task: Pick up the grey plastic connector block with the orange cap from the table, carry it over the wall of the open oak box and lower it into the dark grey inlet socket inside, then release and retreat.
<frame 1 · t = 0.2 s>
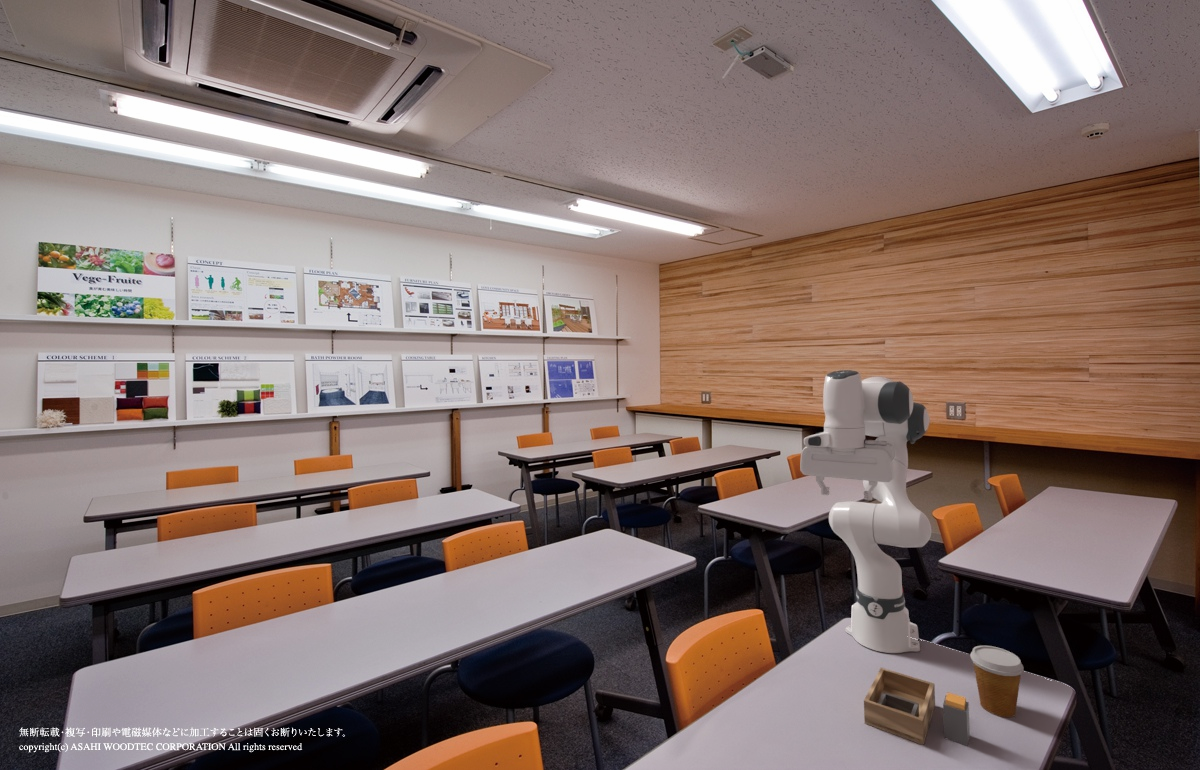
hand: (846, 497, 122), 47 cm above the table, fingers open, 8 cm apart
connector: (956, 736, 107), on the table
disposable coffee cup: (997, 709, 116), on the table
box: (900, 714, 115), on the table
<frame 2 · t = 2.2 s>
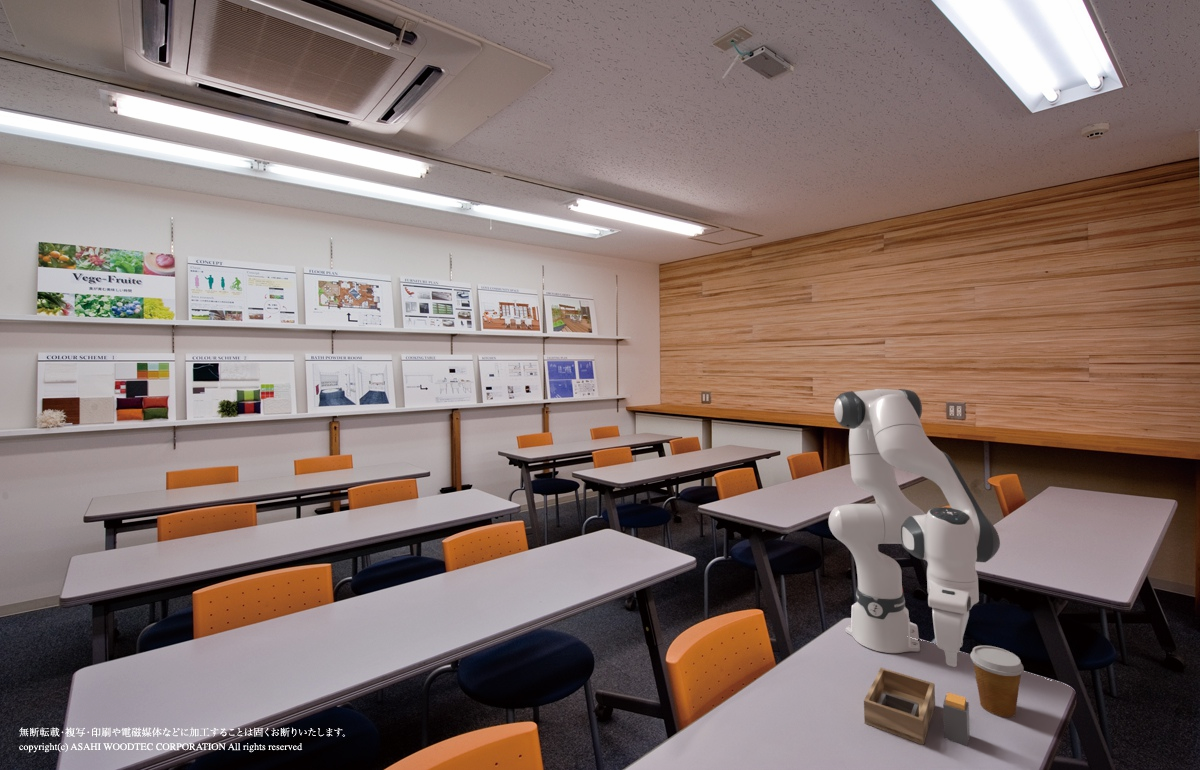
hand: (954, 654, 107), 17 cm above the table, fingers open, 8 cm apart
nothing on the table moved.
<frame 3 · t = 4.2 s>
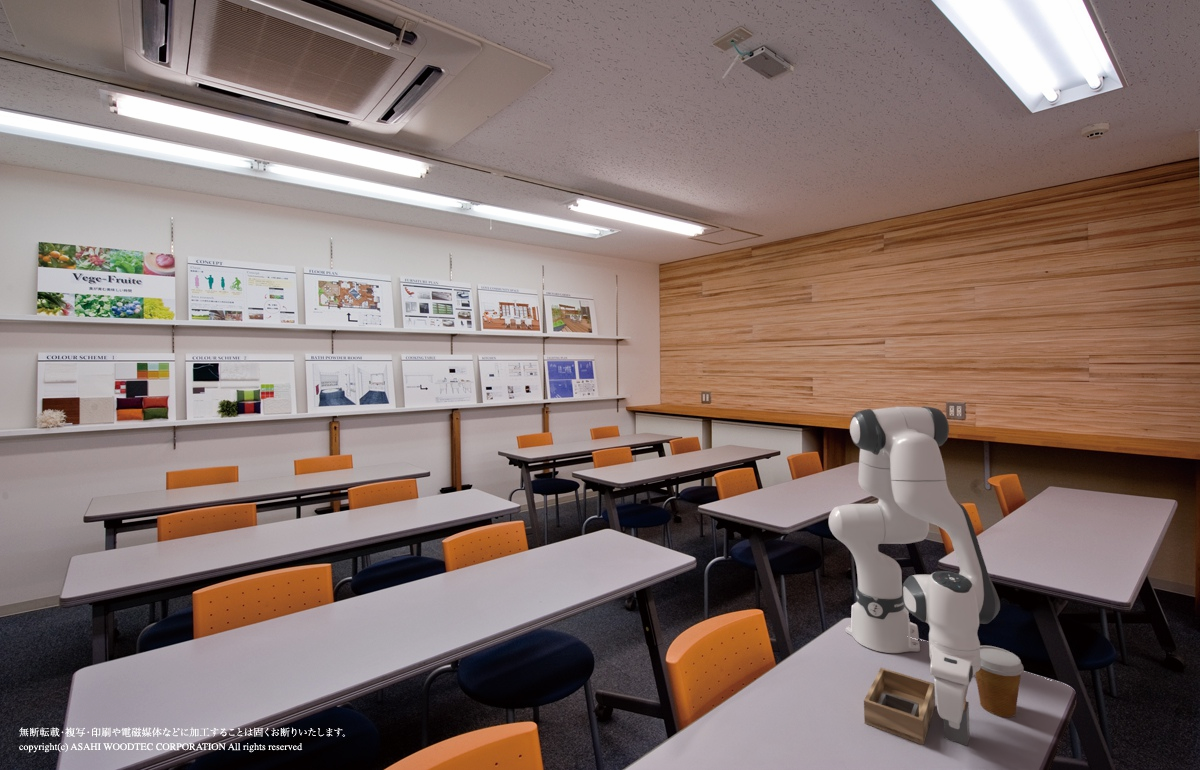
hand: (956, 719, 107), 4 cm above the table, fingers closed on connector, 4 cm apart
connector: (956, 736, 107), on the table, touching gripper
everything else where it was.
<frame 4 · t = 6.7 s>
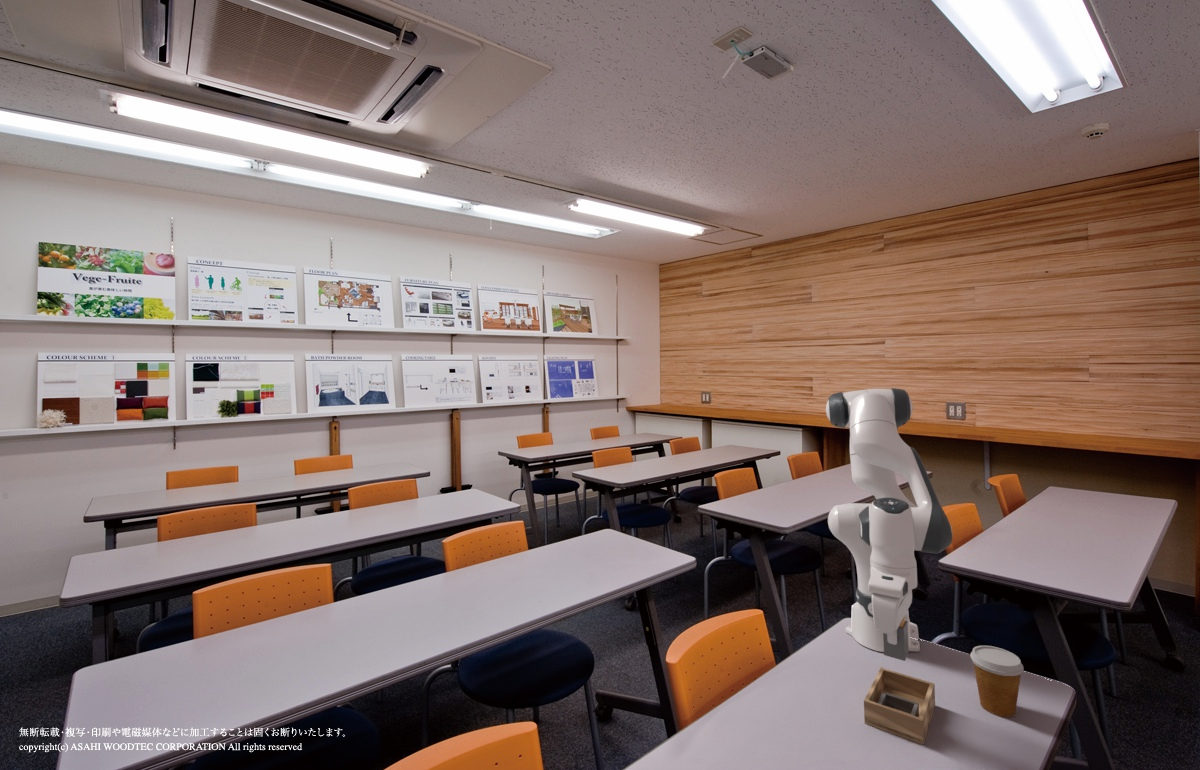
hand: (895, 637, 112), 19 cm above the table, fingers closed on connector, 4 cm apart
connector: (896, 654, 112), point 15 cm above the table, touching gripper
everything else where it was.
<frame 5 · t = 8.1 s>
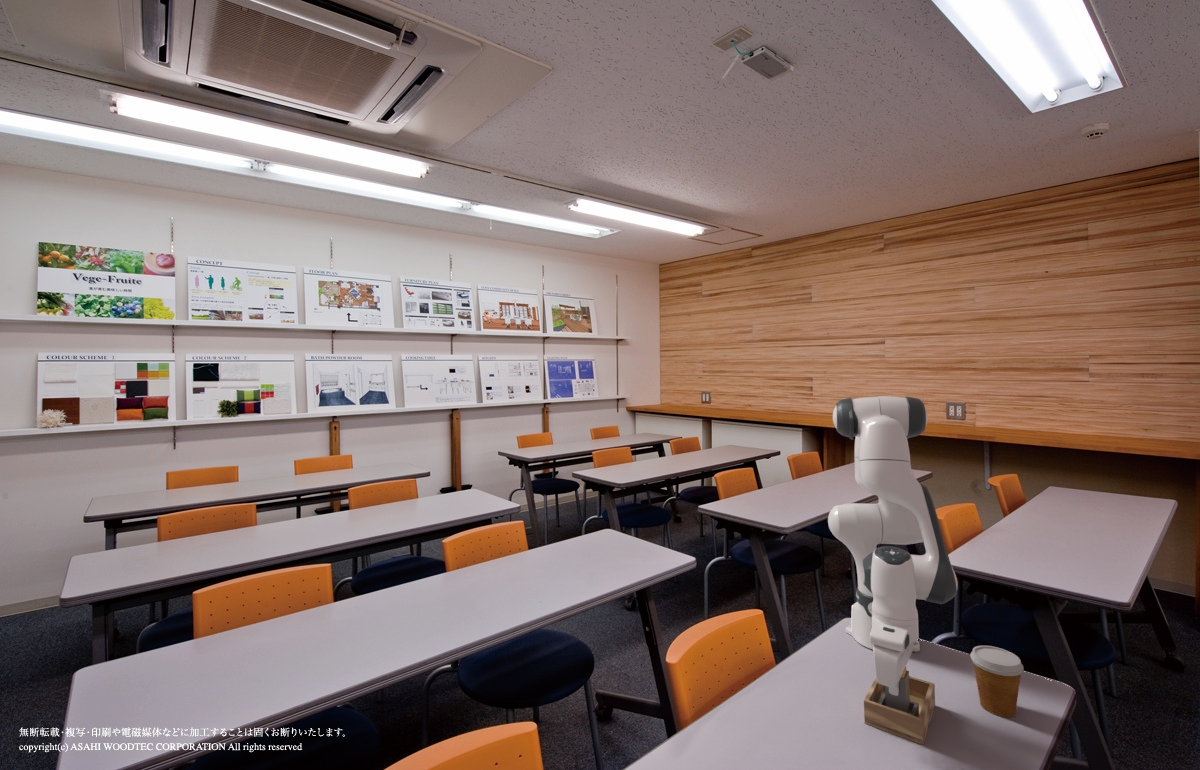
hand: (897, 687, 112), 8 cm above the table, fingers closed on connector, 4 cm apart
connector: (897, 703, 112), point 4 cm above the table, touching gripper
everything else where it was.
when the fingers open (6 cm above the table, at t = 9.1 s): connector drops 1 cm, resting on box.
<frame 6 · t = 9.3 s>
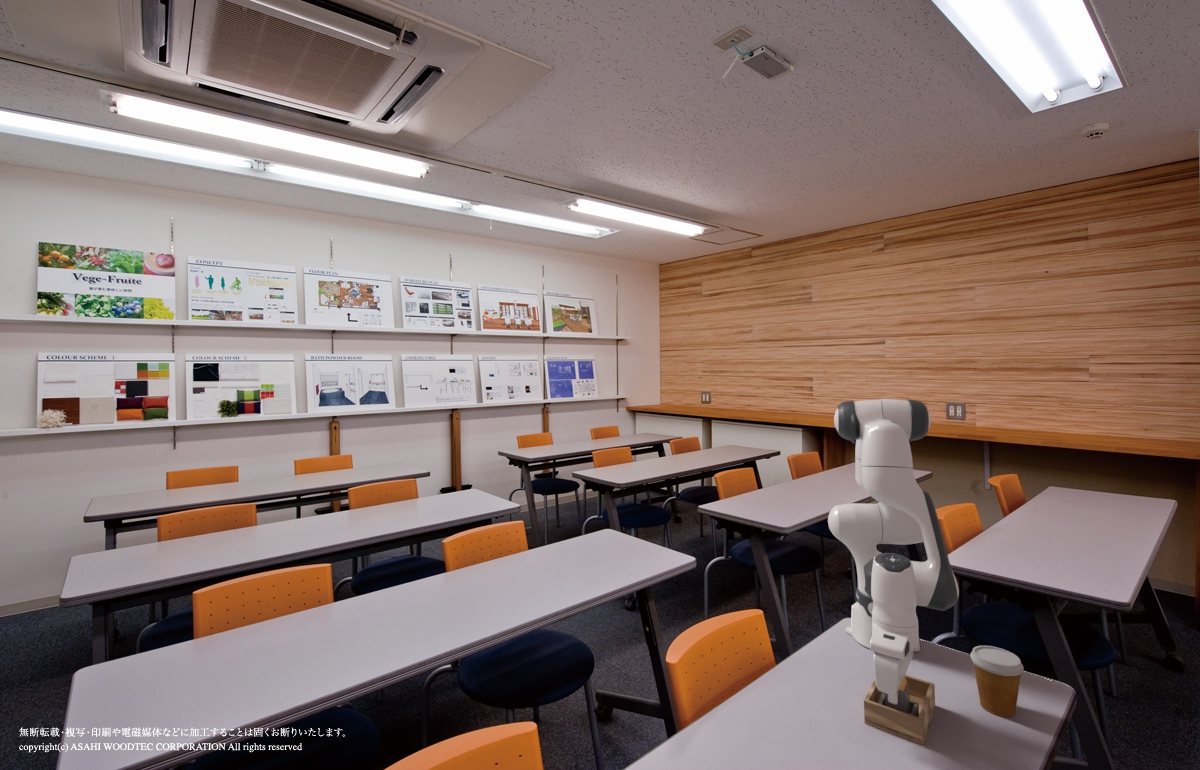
hand: (896, 693, 113), 6 cm above the table, fingers open, 6 cm apart
connector: (897, 716, 113), point 1 cm above the table, touching box
everything else where it was.
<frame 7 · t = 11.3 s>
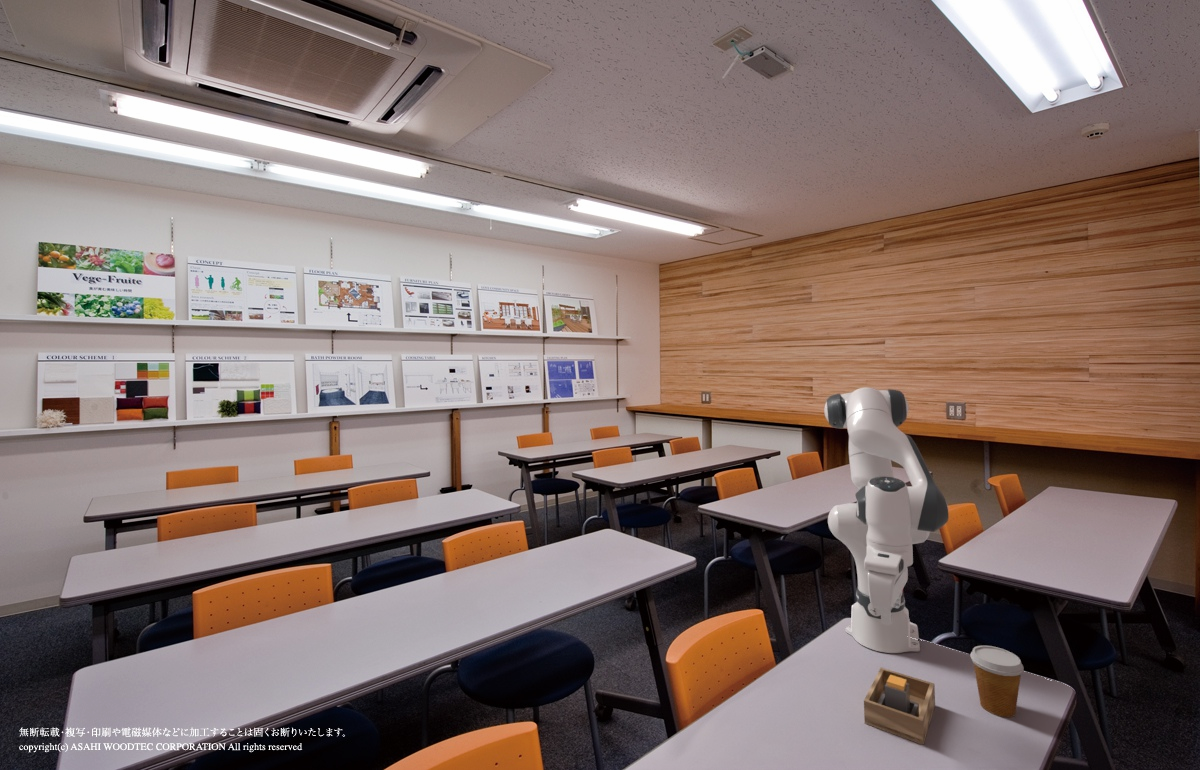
hand: (891, 614, 113), 23 cm above the table, fingers open, 8 cm apart
nothing on the table moved.
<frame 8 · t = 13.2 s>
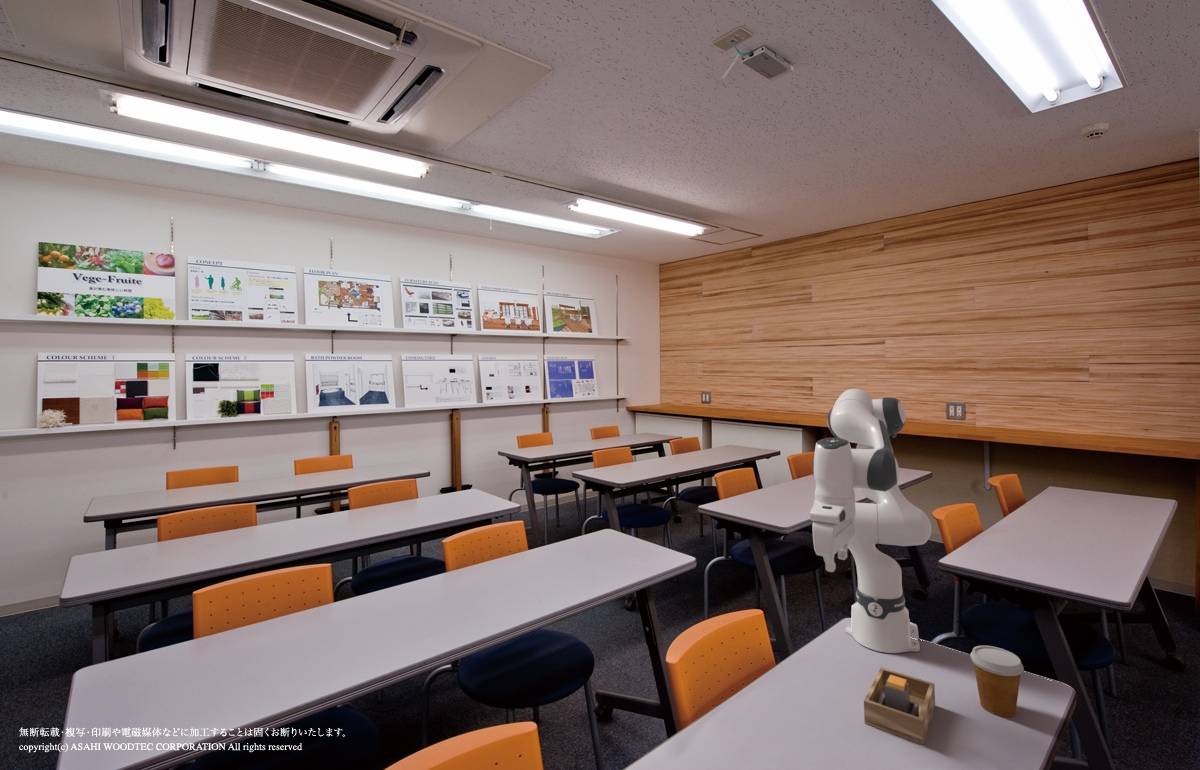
hand: (836, 564, 123), 31 cm above the table, fingers open, 8 cm apart
nothing on the table moved.
at the end: connector 0.1 cm from the target spot on the box, point 1.0 cm above the box's base; connector tilted 0°; the gripper is holding nothing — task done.
